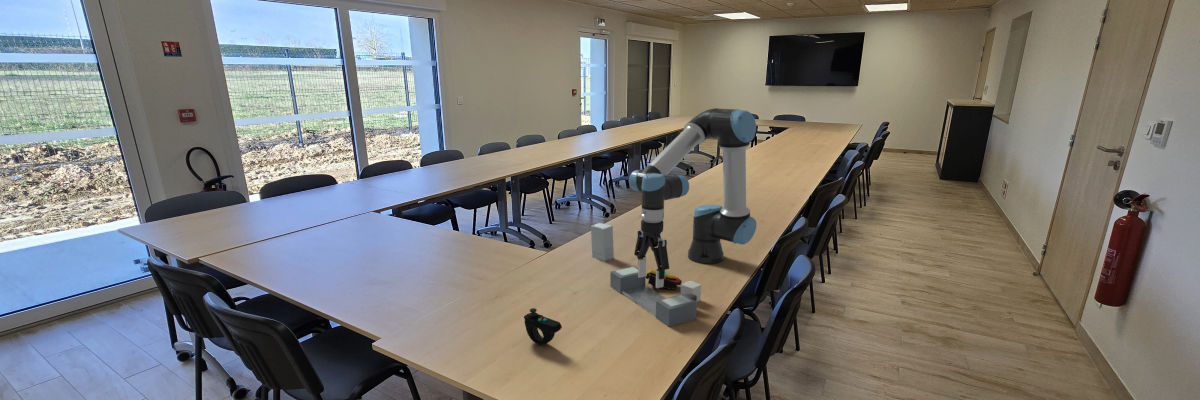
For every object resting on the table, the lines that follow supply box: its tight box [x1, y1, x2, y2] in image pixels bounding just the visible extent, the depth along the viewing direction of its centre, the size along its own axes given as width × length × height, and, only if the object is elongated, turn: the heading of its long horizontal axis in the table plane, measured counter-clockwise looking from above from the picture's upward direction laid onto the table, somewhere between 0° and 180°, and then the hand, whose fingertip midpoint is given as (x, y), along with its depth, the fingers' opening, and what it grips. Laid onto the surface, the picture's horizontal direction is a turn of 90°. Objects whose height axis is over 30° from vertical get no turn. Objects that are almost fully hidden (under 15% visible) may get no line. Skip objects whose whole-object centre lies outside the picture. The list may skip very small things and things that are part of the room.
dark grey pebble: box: [686, 294, 698, 303], centre depth 169 cm, size 4×4×5 cm
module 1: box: [609, 265, 646, 294], centre depth 188 cm, size 11×7×6 cm, turn 119°
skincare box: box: [590, 222, 615, 262], centre depth 217 cm, size 8×6×15 cm
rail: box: [620, 284, 666, 318], centre depth 176 cm, size 10×32×1 cm, turn 29°
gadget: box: [645, 268, 683, 290], centre depth 188 cm, size 6×13×6 cm, turn 79°
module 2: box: [655, 293, 698, 328], centre depth 163 cm, size 11×7×6 cm, turn 119°
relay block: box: [679, 280, 702, 303], centre depth 177 cm, size 5×5×6 cm
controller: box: [523, 307, 563, 346], centre depth 147 cm, size 4×12×10 cm, turn 57°
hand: (650, 281), depth 175 cm, fingers open, 10 cm apart
